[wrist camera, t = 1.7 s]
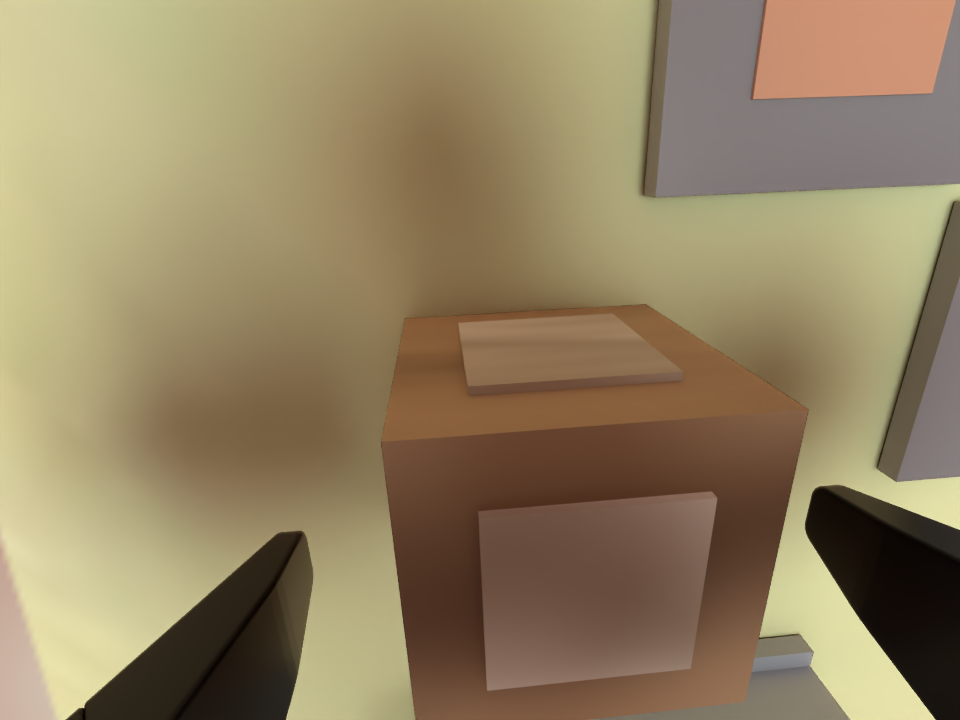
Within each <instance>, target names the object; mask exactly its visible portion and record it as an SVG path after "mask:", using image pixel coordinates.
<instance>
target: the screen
mask: <svg viewBox="0 0 960 720" xmlns="http://www.w3.org/2000/svg"><path fill="white" fill-rule="evenodd" d="M813 653H814V652H813V650H812V649H811V648H810V647H809V645H808V644H807V643H806V641H805V640H804V639H803V638H802V636H801V635H794V636H785V637H775V638H765V639H759V640H758V644H757V649H756V654H755V658H754V663H753V667H752V672H751V677H750V681H749V686H748V690H747V695H746V700H745V702H740V703H731V704H722V705H714V706H705V707H696V708H687V709H678V710H670V711H661V712H652V713H643V714H635V715H626V716H617V717H608V718H600V719H591V720H850V719H849V718H848V716H847V715H846V714H845V712H844V711H843V710H842V708H841V707H840V706H839V704H838V703H837V702H836V700H835V699H834V698H833V696H832V695H831V694H830V692H829V691H828V690H827V688H826V687H825V686H824V684H823V683H822V682H821V680H820V679H819V678H818V676H817V675H816V674H815V672H814V671H813V670H812V668H811V667H810V663H811V660H812V656H813Z"/></svg>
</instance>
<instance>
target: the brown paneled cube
mask: <svg viewBox="0 0 960 720" xmlns="http://www.w3.org/2000/svg"><path fill="white" fill-rule="evenodd" d="M807 415H808V409H807V408H805V407H804V406H802V405H801V404H799V403H798V402H796V401H795V400H793V399H791V398H790V397H788V396H787V395H785V394H784V393H782V392H781V391H779V390H778V389H776V388H774V387H773V386H771V385H770V384H768V383H767V382H765V381H764V380H762V379H761V378H759V377H758V376H756V375H754V374H753V373H751V372H750V371H748V370H747V369H745V368H744V367H742V366H741V365H739V364H737V363H736V362H734V361H733V360H731V359H730V358H728V357H727V356H725V355H724V354H722V353H720V352H719V351H717V350H716V349H714V348H713V347H711V346H710V345H708V344H707V343H705V342H703V341H702V340H700V339H699V338H697V337H696V336H694V335H693V334H691V333H690V332H688V331H686V330H685V329H683V328H682V327H680V326H679V325H677V324H676V323H674V322H673V321H671V320H670V319H668V318H666V317H665V316H663V315H662V314H660V313H659V312H657V311H656V310H654V309H653V308H651V307H649V306H648V305H646V304H641V305H624V306H607V307H591V308H574V309H557V310H541V311H524V312H507V313H491V314H474V315H457V316H441V317H424V318H407V319H405V321H404V326H403V331H402V337H401V342H400V347H399V352H398V357H397V362H396V367H395V372H394V378H393V383H392V388H391V393H390V398H389V403H388V408H387V414H386V419H385V424H384V429H383V434H382V439H381V446H382V454H383V462H384V470H385V478H386V487H387V495H388V503H389V511H390V519H391V527H392V535H393V543H394V551H395V559H396V567H397V575H398V583H399V591H400V599H401V607H402V615H403V623H404V631H405V639H406V647H407V655H408V663H409V671H410V679H411V687H412V695H413V703H414V711H415V719H416V720H591V719H600V718H608V717H617V716H626V715H635V714H643V713H652V712H661V711H670V710H678V709H687V708H696V707H705V706H714V705H722V704H731V703H740V702H745V700H746V695H747V690H748V686H749V681H750V677H751V672H752V667H753V663H754V658H755V654H756V649H757V644H758V640H759V635H760V631H761V626H762V621H763V617H764V612H765V608H766V603H767V599H768V594H769V589H770V585H771V580H772V576H773V571H774V566H775V562H776V557H777V553H778V548H779V543H780V539H781V534H782V530H783V525H784V521H785V516H786V511H787V507H788V502H789V498H790V493H791V488H792V484H793V479H794V475H795V470H796V465H797V461H798V456H799V452H800V447H801V442H802V438H803V433H804V429H805V424H806V420H807Z"/></svg>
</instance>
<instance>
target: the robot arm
mask: <svg viewBox="0 0 960 720" xmlns="http://www.w3.org/2000/svg"><path fill="white" fill-rule="evenodd" d="M805 530H806V534H807V536H808V538H809V540H810V542H811V543H812V545H813V546H814V548H815V550H816V551H817V553H818V554H819V556H820V558H821V559H822V561H823V562H824V564H825V565H826V567H827V569H828V570H829V572H830V573H831V575H832V577H833V578H834V580H835V581H836V583H837V585H838V586H839V588H840V589H841V591H842V592H843V594H844V596H845V597H846V599H847V600H848V602H849V604H850V605H851V607H852V608H853V610H854V611H855V613H856V614H857V616H858V617H859V619H860V620H861V621H862V623H863V624H864V625H865V627H866V628H867V630H868V631H869V632H870V634H871V635H872V636H873V638H874V639H875V640H876V642H877V643H878V644H879V645H880V647H881V648H882V649H883V651H884V652H885V653H886V655H887V656H888V657H889V659H890V660H891V661H892V663H893V664H894V665H895V667H896V668H897V669H898V671H899V672H900V673H901V675H902V676H903V677H904V678H905V680H906V681H907V682H908V684H909V685H910V686H911V688H912V689H913V690H914V692H915V693H916V694H917V696H918V697H919V698H920V700H921V701H922V702H923V704H924V705H925V706H926V707H927V709H928V710H929V711H930V713H931V714H932V715H933V717H934V718H935V719H936V720H960V530H958V529H955V528H953V527H950V526H948V525H945V524H942V523H940V522H937V521H934V520H932V519H929V518H927V517H924V516H921V515H919V514H916V513H913V512H911V511H908V510H905V509H903V508H900V507H898V506H895V505H892V504H890V503H887V502H884V501H882V500H879V499H877V498H874V497H871V496H869V495H866V494H863V493H861V492H858V491H855V490H853V489H850V488H848V487H845V486H842V485H830V486H820V487H817V488H816V489H815V490H814V491H813V493H812V496H811V500H810V504H809V509H808V513H807V517H806V521H805ZM312 584H313V568H312V563H311V558H310V553H309V548H308V543H307V538H306V535H305V533H304V532H302V531H290V532H281V533H278V534H277V535H275V536H274V537H273V538H272V539H271V540H269V541H268V542H267V543H266V544H265V545H264V546H263V547H261V548H260V549H259V550H258V551H257V552H256V553H255V554H254V555H252V556H251V557H250V558H249V559H248V560H247V561H246V562H244V563H243V564H242V565H241V566H240V567H239V568H238V569H237V570H235V571H234V572H233V573H232V574H231V575H230V576H229V577H227V578H226V579H225V580H224V581H223V582H222V583H221V584H220V585H218V586H217V587H216V588H215V589H214V590H213V591H212V592H210V593H209V594H208V595H207V596H206V597H205V598H204V599H202V600H201V601H200V602H199V603H198V604H197V605H196V606H195V607H193V608H192V609H191V610H190V611H189V612H188V613H187V614H185V615H184V616H183V617H182V618H181V619H180V620H179V621H178V622H176V623H175V624H174V625H173V626H172V627H171V628H170V629H168V630H167V631H166V632H165V633H164V634H163V635H162V636H161V637H159V638H158V639H157V640H156V641H155V642H154V643H153V644H151V645H150V646H149V647H148V648H147V649H146V650H145V651H144V652H142V653H141V654H140V655H139V656H138V657H137V658H136V659H134V660H133V661H132V662H131V663H130V664H129V665H128V666H126V667H125V668H124V669H123V670H122V671H121V672H120V673H119V674H117V675H116V676H115V677H114V678H113V679H112V680H111V681H109V682H108V683H107V684H106V685H105V686H104V687H103V688H102V689H100V690H99V691H98V692H97V693H96V694H95V695H94V696H92V697H91V698H90V699H89V700H88V701H87V702H86V703H85V706H84V708H79V709H77V710H76V711H75V712H74V713H73V714H72V715H71V716H69V717H68V718H67V719H66V720H286V717H287V713H288V709H289V706H290V702H291V699H292V695H293V691H294V687H295V683H296V679H297V675H298V669H299V664H300V658H301V652H302V646H303V640H304V634H305V628H306V621H307V615H308V609H309V603H310V597H311V591H312Z"/></svg>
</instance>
